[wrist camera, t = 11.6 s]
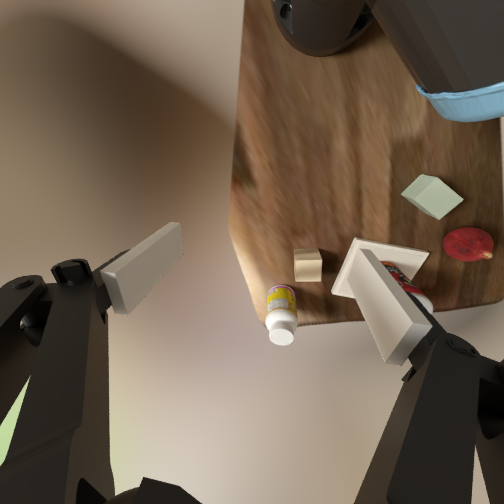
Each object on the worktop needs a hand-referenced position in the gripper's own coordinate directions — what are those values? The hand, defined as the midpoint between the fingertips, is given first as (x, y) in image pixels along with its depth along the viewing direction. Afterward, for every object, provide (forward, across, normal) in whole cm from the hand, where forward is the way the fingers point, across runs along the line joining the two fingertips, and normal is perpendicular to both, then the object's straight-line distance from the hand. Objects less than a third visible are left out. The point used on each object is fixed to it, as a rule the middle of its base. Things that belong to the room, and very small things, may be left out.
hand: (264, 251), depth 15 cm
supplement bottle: (+26, +5, -25) cm, 37 cm away
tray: (+26, +24, -15) cm, 38 cm away
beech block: (+26, +9, -14) cm, 31 cm away
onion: (+26, +34, -5) cm, 43 cm away
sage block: (+26, +26, +2) cm, 37 cm away
